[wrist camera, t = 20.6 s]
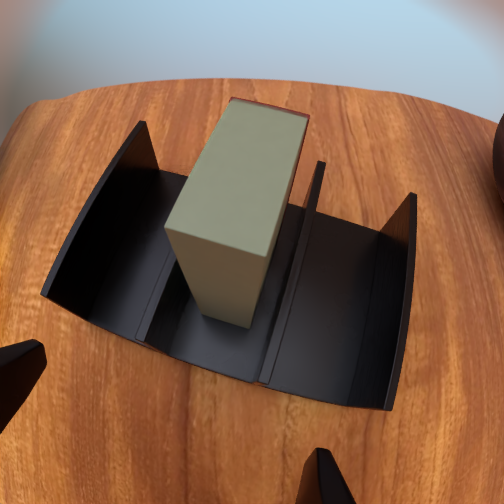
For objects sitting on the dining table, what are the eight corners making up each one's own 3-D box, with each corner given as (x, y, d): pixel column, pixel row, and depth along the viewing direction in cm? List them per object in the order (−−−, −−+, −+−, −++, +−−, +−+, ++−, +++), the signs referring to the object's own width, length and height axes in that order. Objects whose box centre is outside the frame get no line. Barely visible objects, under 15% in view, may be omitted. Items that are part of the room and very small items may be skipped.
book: (278, 239, 20) (310, 114, 11) (250, 329, 18) (268, 257, 8) (232, 226, 21) (231, 96, 11) (200, 313, 18) (161, 226, 9)
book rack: (382, 237, 22) (417, 194, 17) (350, 407, 17) (392, 411, 12) (155, 173, 23) (139, 119, 18) (84, 320, 18) (39, 294, 13)
